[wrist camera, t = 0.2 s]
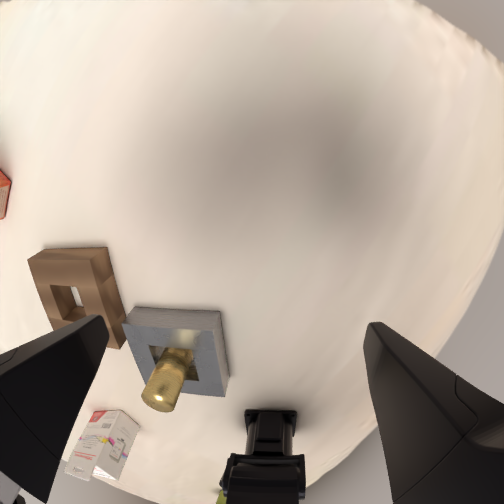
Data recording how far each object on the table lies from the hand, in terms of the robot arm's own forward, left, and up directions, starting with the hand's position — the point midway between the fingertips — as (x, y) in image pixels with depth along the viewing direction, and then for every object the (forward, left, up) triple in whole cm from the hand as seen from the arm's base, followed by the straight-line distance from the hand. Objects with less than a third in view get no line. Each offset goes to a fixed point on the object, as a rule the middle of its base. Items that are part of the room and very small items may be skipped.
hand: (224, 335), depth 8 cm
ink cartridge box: (-33, +25, -15) cm, 44 cm away
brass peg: (-13, +8, -14) cm, 21 cm away
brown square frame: (-7, +19, -14) cm, 25 cm away
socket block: (-13, +8, -14) cm, 21 cm away
